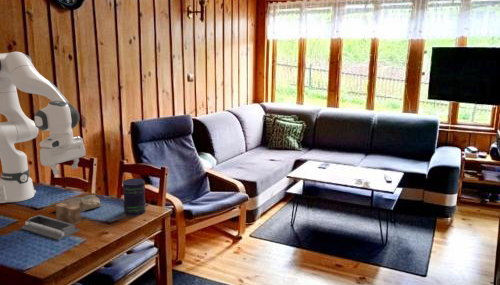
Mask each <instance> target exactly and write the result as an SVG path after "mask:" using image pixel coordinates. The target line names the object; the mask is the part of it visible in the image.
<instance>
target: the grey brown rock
mask: <svg viewBox="0 0 500 285" xmlns="http://www.w3.org/2000/svg"><path fill="white" fill-rule="evenodd" d="M59 203H64V204H68V205H72V206H76V207H80V211H82V212H85V211H86V210H87V211H88V210H92V209H97V208H100V207H101V205H102V204H101V201H100V197H98V196H97V195H95V194H89V195H84V196H75V197H73V198H70V199H66V200H62V201H60V202H58V203H57V204H59Z"/></svg>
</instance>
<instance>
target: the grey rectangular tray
mask: <svg viewBox="0 0 500 285" xmlns="http://www.w3.org/2000/svg"><path fill="white" fill-rule="evenodd" d="M21 229H22V230H25V231H28V232H31V233H33V234H37V235H41V236H42V237H43V236H44V237H46V238H50V239H52V240H55V241H56V240H57V241H60V240H62V239H64V238H66V237H69V236H71V235H73V234H75V233H78V232H80V228H78V227H76V225H74V224H71V223H67V222H64V221H60V220H57V219H56V218H52V217H50V216H45V215H43V214H37V215H35V216H32V217H30V218H27V220H25V225H23V226H21Z"/></svg>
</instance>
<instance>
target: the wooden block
mask: <svg viewBox="0 0 500 285" xmlns="http://www.w3.org/2000/svg"><path fill="white" fill-rule="evenodd" d="M58 203H59V202H58ZM58 203H56V204H55V205H54V208H55V216H56V218H55V219H57V220H60V221H64V222H67V223H71V224H74V225H75V226H77V225H79V224H81V223H82V212H81V211H80V207H76V206H72V205H68V204H64V203H59V204H58ZM78 223H79V224H78ZM76 224H77V225H76Z"/></svg>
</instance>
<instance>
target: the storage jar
mask: <svg viewBox="0 0 500 285" xmlns="http://www.w3.org/2000/svg"><path fill="white" fill-rule="evenodd" d="M145 185H146V184H145V179H142V178H137V177H136V178H133V177H132V178H127V179H125V180H123V181H122V192H123V199H124V200H123V208H124V209H123V210H124V215H126V216H129V217H135V216H141V215H144V214H145V213H146V211H147V210H146V206H147V203H146V198H145V197H146V196H145V193H146V186H145Z"/></svg>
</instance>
